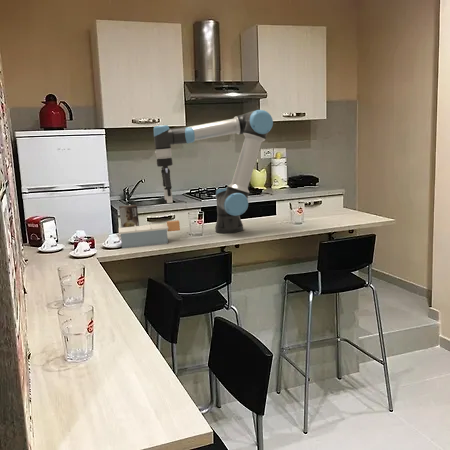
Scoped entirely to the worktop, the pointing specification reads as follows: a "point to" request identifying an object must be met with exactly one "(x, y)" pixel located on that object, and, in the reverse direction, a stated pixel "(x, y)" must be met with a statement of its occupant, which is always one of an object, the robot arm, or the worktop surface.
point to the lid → (152, 227)
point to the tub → (144, 238)
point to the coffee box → (129, 216)
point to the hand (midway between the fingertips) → (168, 201)
